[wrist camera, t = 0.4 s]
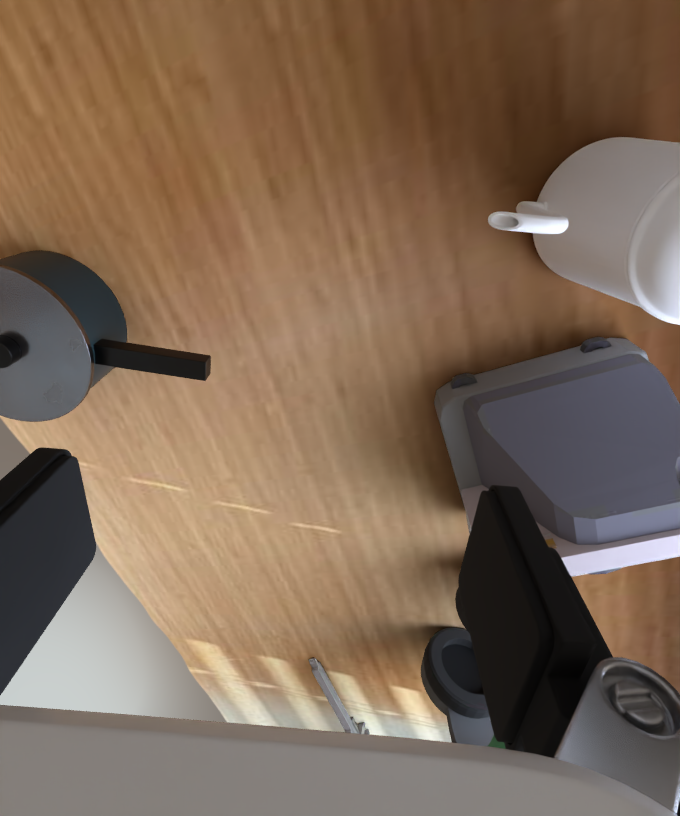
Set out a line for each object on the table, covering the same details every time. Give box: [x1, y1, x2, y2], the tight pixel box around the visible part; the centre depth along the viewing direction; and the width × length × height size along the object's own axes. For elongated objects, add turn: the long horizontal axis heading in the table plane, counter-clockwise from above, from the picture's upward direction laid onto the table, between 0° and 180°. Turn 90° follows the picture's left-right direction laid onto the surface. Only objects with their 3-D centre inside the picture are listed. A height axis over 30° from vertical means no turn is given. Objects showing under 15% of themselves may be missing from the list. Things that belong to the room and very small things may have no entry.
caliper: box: [309, 658, 369, 735], centre depth 70 cm, size 20×1×6 cm, turn 25°
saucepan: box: [0, 251, 211, 422], centre depth 42 cm, size 14×23×9 cm, turn 81°
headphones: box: [421, 587, 506, 749], centre depth 53 cm, size 19×11×20 cm, turn 166°
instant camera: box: [434, 337, 680, 577], centre depth 43 cm, size 21×21×15 cm
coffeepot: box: [488, 137, 680, 325], centre depth 31 cm, size 11×25×19 cm, turn 84°
